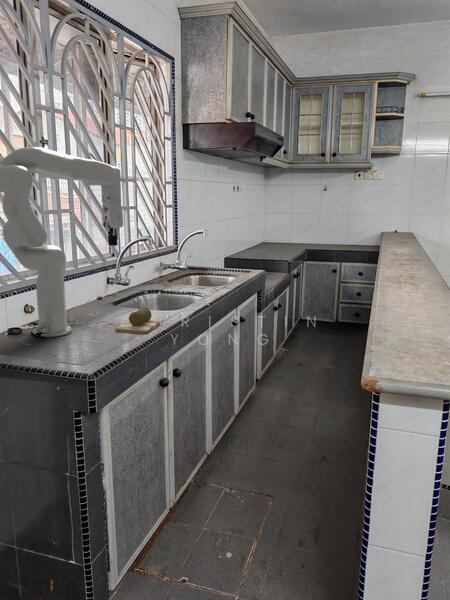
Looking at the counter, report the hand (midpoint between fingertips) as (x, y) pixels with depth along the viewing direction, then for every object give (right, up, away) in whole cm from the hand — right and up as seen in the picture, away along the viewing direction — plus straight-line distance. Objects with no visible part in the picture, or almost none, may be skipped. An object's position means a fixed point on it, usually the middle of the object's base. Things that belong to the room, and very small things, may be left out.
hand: (113, 245), depth 197 cm
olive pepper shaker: (+13, -28, -5) cm, 31 cm away
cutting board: (+12, -33, -13) cm, 37 cm away
